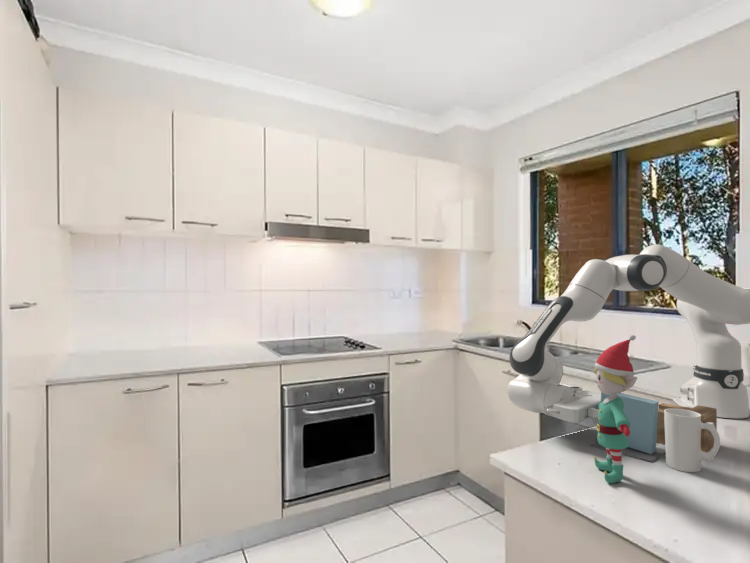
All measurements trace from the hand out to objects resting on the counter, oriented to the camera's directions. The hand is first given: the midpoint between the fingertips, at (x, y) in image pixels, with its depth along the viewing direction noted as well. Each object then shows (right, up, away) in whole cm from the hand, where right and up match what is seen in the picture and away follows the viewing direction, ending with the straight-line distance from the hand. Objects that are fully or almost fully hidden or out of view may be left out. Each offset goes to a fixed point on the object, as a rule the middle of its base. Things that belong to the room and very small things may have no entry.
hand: (614, 413), depth 112 cm
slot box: (+18, -8, +2) cm, 20 cm away
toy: (-10, -8, -18) cm, 22 cm away
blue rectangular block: (+2, -7, -2) cm, 8 cm away
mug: (+9, -8, -14) cm, 19 cm away
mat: (+2, -8, -2) cm, 8 cm away
